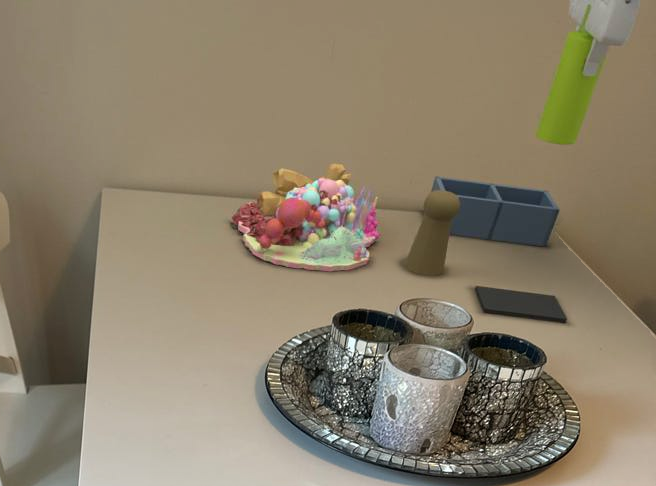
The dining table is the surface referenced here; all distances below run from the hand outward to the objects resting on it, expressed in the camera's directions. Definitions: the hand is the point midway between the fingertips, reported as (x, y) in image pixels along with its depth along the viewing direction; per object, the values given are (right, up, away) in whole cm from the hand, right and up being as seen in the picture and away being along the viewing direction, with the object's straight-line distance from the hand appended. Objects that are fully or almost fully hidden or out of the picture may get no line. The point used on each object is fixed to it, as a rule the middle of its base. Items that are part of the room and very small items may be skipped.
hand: (581, 68), depth 130 cm
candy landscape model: (-37, -18, +15) cm, 44 cm away
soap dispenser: (-1, -7, +6) cm, 9 cm away
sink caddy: (-5, -11, +26) cm, 29 cm away
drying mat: (-8, -33, +4) cm, 34 cm away
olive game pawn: (-20, -24, +11) cm, 33 cm away
